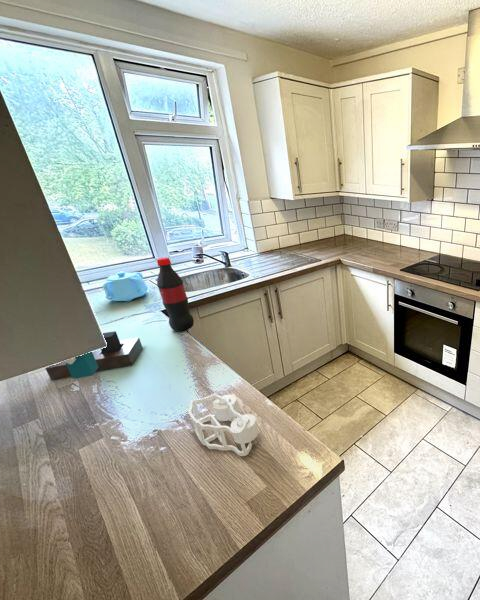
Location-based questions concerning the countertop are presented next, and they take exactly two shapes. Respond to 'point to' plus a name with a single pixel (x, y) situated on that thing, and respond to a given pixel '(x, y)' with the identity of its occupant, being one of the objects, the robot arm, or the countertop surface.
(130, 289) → the decorative pot
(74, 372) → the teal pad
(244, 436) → the skeletal toy car
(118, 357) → the walnut base
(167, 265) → the cola bottle
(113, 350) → the black upright block
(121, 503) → the countertop surface
